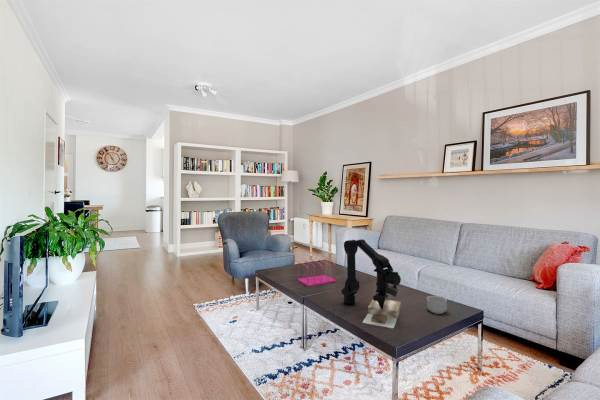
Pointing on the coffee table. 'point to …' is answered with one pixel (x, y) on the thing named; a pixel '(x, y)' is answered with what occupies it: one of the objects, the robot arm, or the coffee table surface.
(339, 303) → the coffee table surface
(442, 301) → the teacup
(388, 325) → the sage mat
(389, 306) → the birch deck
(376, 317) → the walnut tile
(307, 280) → the file sorter
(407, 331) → the coffee table surface
